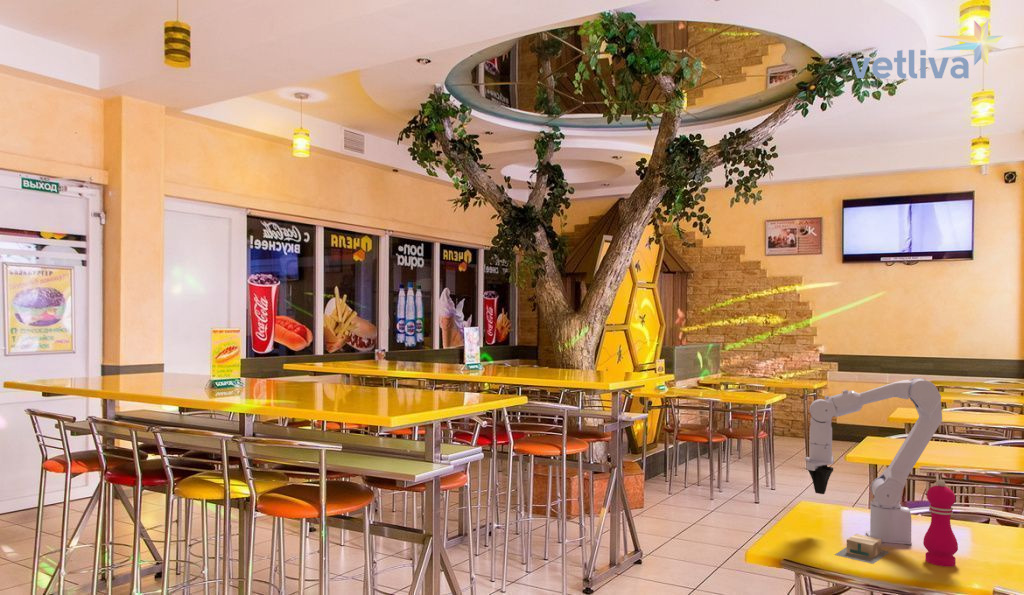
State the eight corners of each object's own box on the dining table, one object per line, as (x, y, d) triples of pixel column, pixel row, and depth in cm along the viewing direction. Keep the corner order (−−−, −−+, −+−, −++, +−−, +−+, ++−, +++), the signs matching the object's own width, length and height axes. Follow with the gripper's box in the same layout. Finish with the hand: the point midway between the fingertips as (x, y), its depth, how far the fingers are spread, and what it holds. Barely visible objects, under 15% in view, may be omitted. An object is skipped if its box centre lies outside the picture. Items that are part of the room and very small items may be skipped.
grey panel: (852, 544, 189) (852, 543, 189) (890, 552, 183) (890, 551, 183) (834, 555, 180) (834, 554, 180) (873, 564, 173) (873, 563, 173)
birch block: (872, 545, 177) (881, 539, 183) (846, 539, 182) (856, 533, 187) (872, 558, 177) (881, 552, 182) (846, 552, 182) (856, 546, 187)
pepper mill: (957, 570, 171) (958, 484, 171) (922, 564, 175) (923, 480, 175) (958, 561, 177) (958, 478, 177) (923, 555, 181) (924, 474, 181)
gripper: (816, 438, 208) (815, 486, 208) (795, 444, 198) (794, 494, 198) (841, 442, 204) (841, 491, 203) (822, 448, 193) (821, 499, 193)
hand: (820, 493), depth 200 cm, fingers closed
